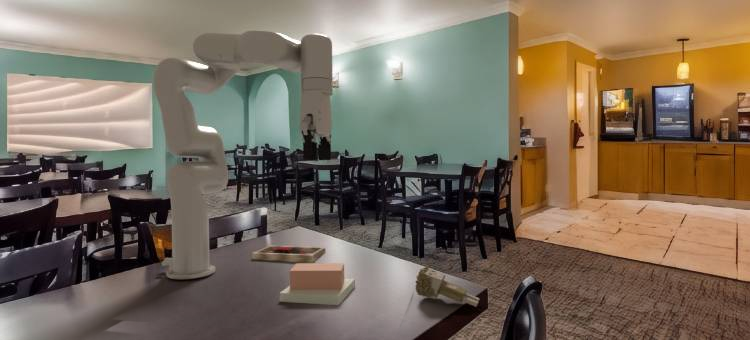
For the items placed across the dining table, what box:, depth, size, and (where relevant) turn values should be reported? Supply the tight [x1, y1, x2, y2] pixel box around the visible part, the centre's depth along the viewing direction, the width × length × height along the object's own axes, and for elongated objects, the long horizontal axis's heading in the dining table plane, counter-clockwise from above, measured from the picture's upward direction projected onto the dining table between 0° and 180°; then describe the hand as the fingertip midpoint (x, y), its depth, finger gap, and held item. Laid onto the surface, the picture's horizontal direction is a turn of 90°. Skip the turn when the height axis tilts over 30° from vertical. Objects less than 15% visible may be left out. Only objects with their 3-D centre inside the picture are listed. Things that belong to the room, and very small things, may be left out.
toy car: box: [269, 247, 311, 255], centre depth 132 cm, size 6×14×5 cm, turn 68°
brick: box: [289, 262, 345, 290], centre depth 99 cm, size 12×7×4 cm, turn 89°
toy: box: [415, 265, 480, 308], centre depth 96 cm, size 7×7×15 cm
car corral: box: [252, 245, 327, 263], centre depth 133 cm, size 20×12×4 cm, turn 78°
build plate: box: [279, 277, 356, 306], centre depth 99 cm, size 14×14×2 cm
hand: (317, 159), depth 99 cm, fingers open, 9 cm apart
